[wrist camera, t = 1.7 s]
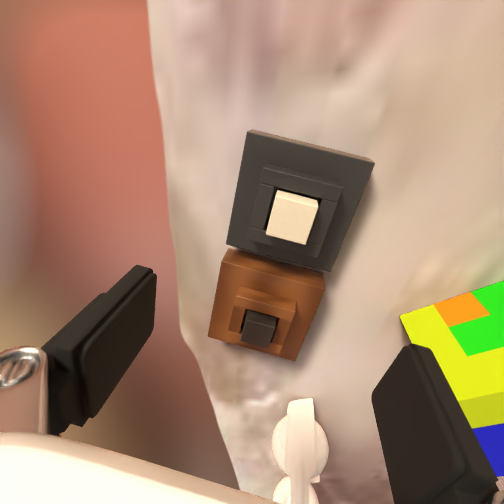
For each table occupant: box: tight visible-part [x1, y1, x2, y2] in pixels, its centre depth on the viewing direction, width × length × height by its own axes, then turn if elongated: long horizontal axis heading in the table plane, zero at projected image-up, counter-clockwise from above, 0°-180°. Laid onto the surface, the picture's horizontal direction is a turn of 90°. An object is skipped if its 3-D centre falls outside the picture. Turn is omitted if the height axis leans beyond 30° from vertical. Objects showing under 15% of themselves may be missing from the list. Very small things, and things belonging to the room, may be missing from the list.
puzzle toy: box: [400, 281, 504, 477], centre depth 25 cm, size 10×10×10 cm
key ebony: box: [240, 310, 276, 349], centre depth 27 cm, size 3×3×2 cm
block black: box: [226, 130, 375, 272], centre depth 24 cm, size 10×10×4 cm
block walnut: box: [208, 249, 325, 361], centre depth 29 cm, size 10×10×4 cm
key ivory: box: [266, 190, 318, 245], centre depth 22 cm, size 3×3×2 cm
